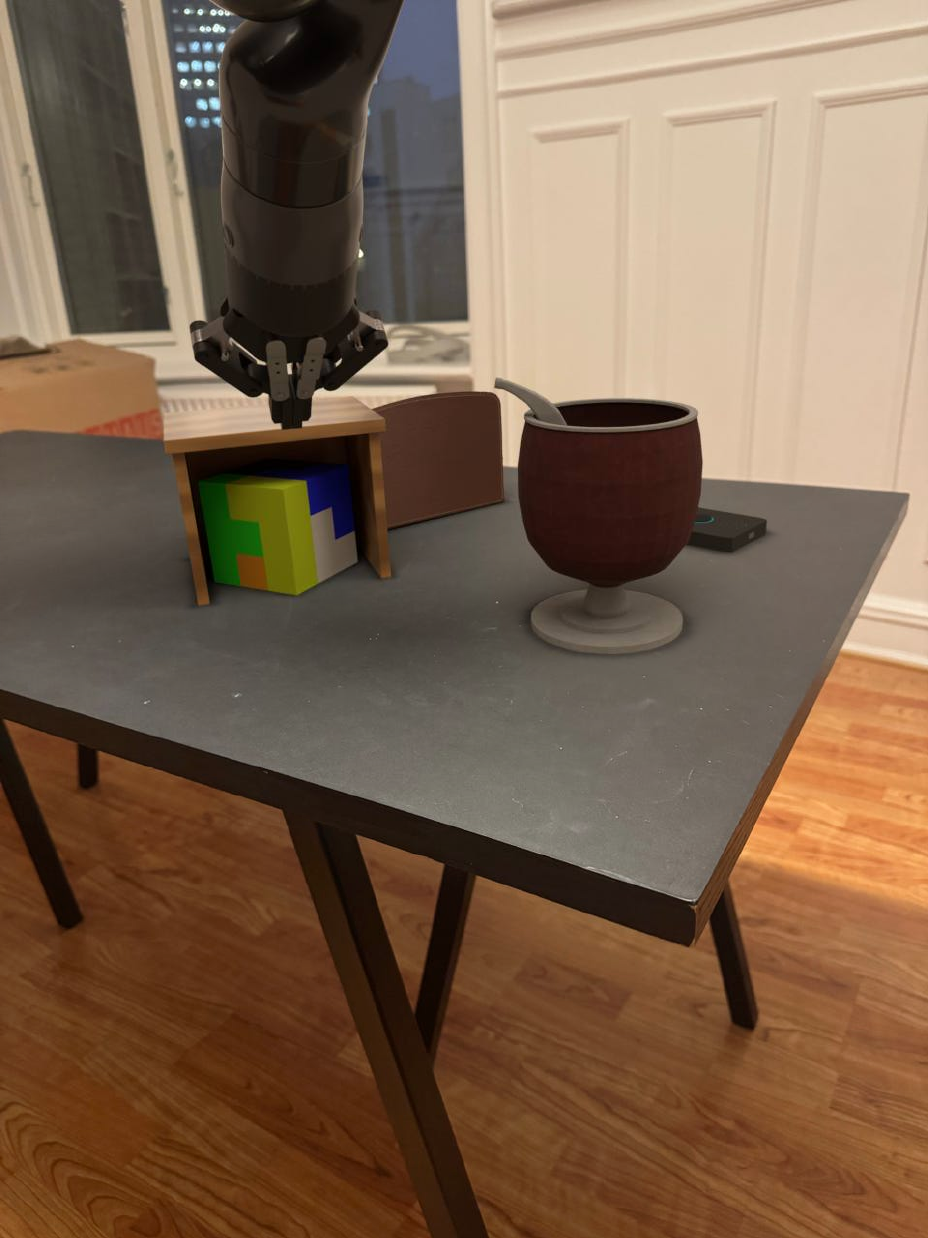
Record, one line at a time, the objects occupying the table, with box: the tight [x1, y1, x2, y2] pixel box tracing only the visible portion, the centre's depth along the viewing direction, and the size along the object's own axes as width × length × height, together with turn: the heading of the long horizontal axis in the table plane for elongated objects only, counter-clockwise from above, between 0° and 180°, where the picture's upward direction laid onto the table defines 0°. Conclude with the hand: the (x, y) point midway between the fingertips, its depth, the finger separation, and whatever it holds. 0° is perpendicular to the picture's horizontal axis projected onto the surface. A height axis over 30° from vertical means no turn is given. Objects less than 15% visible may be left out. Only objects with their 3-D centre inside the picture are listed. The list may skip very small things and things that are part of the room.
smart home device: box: [686, 506, 768, 554], centre depth 96 cm, size 8×2×20 cm
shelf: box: [162, 395, 392, 606], centre depth 86 cm, size 15×19×15 cm
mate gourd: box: [493, 376, 704, 655], centre depth 69 cm, size 16×14×20 cm
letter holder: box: [371, 390, 505, 531], centre depth 104 cm, size 10×20×14 cm, turn 126°
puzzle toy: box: [198, 458, 359, 596], centre depth 86 cm, size 10×10×10 cm
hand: (289, 419), depth 65 cm, fingers closed
